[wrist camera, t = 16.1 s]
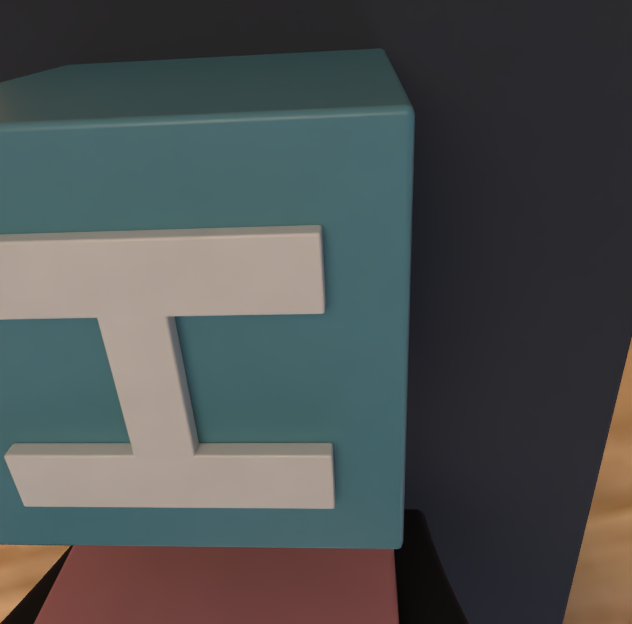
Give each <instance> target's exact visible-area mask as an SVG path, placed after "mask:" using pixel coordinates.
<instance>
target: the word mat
mask: <svg viewBox="0 0 632 624" xmlns="http://www.w3.org/2000/svg"><path fill="white" fill-rule="evenodd" d="M378 48H381V49H384V50H385V52H386V54H387V56H388V58H389V60H390V62H391V64H392V66H393V68H394V70H395V72H396V74H397V76H398V78H399V80H400V82H401V84H402V86H403V88H404V90H405V92H406V94H407V96H408V98H409V100H410V102H411V104H412V106H413V109H414V112H415V138H414V174H413V210H412V246H411V282H410V318H409V354H408V390H407V426H406V462H405V498H404V509H419V510H420V511H421V512H423V513H424V514H425V518H426V522H427V525H428V528H429V531H430V534H431V538H432V540H433V543H434V546H435V549H436V551H437V554H438V556H439V559H440V561H441V564H442V566H443V568H444V571H445V573H446V576H447V578H448V580H449V583H450V585H451V587H452V589H453V591H454V594H455V596H456V598H457V600H458V602H459V604H460V606H461V608H462V610H463V612H464V614H465V616H466V618H467V620H468V622H469V624H562V622H563V618H564V614H565V610H566V606H567V602H568V597H569V593H570V589H571V585H572V581H573V577H574V573H575V568H576V564H577V560H578V556H579V552H580V548H581V544H582V540H583V535H584V531H585V527H586V523H587V519H588V515H589V511H590V507H591V502H592V498H593V494H594V490H595V486H596V482H597V478H598V474H599V469H600V465H601V461H602V457H603V453H604V449H605V445H606V440H607V436H608V432H609V428H610V424H611V420H612V416H613V412H614V407H615V403H616V399H617V395H618V391H619V387H620V383H621V379H622V374H623V370H624V366H625V362H626V358H627V354H628V350H629V345H630V341H631V337H632V0H0V83H1V82H4V81H8V80H12V79H16V78H20V77H23V76H27V75H31V74H35V73H39V72H42V71H46V70H50V69H54V68H58V67H61V66H65V65H73V64H92V63H111V62H130V61H149V60H169V59H188V58H207V57H226V56H245V55H264V54H283V53H302V52H321V51H340V50H359V49H378Z"/></svg>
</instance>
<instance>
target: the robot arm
mask: <svg viewBox="0 0 632 624" xmlns="http://www.w3.org/2000/svg"><path fill="white" fill-rule="evenodd" d="M72 547H73V545H71V546H70V547H69V549H68V550H67V551H66V552H65V553H64V554H63V555H62V556H61V558H60V559H59V560H58V561H57V562H56V563H55V564H54V565H53V567H52V568H51V569H50V570H49V571H48V572H47V573H46V574H45V576H44V577H43V578H42V579H41V580H40V581H39V582H38V583H37V584H36V586H35V587H34V588H33V589H32V590H31V591H30V592H29V593H28V594H27V595H26V596H25V597H24V599H23V600H22V601H21V602H20V603H19V604H18V605H17V606H16V607H15V608H14V609H13V611H12V612H11V613H10V614H9V615H8V616H7V617H6V618H5V619H4V620H3V621H2V622H1V623H0V624H34V623H35V621H36V619H37V617H38V615H39V613H40V611H41V609H42V607H43V605H44V603H45V601H46V599H47V597H48V595H49V593H50V591H51V589H52V587H53V585H54V583H55V581H56V579H57V577H58V575H59V573H60V571H61V569H62V567H63V565H64V563H65V561H66V559H67V557H68V555H69V553H70V551H71V549H72ZM394 558H395V572H396V585H397V599H398V613H399V624H469V622H468V620H467V618H466V616H465V614H464V612H463V610H462V608H461V606H460V604H459V602H458V600H457V598H456V596H455V594H454V591H453V589H452V587H451V585H450V583H449V580H448V578H447V576H446V573H445V571H444V568H443V566H442V564H441V561H440V559H439V556H438V554H437V551H436V549H435V546H434V543H433V540H432V538H431V534H430V531H429V528H428V525H427V522H426V518H425V514H424V513H423V512H421V511H420V510H419V509H404V534H403V544H402V547H401V548H399V549H394Z"/></svg>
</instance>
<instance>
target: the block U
mask: <svg viewBox="0 0 632 624" xmlns="http://www.w3.org/2000/svg"><path fill="white" fill-rule="evenodd" d="M34 624H399V613H398V599H397V585H396V572H395V558H394V549H337V548H255V547H172V546H90V545H73V547H72V549H71V551H70V553H69V555H68V557H67V559H66V561H65V563H64V565H63V567H62V569H61V571H60V573H59V575H58V577H57V579H56V581H55V583H54V585H53V587H52V589H51V591H50V593H49V595H48V597H47V599H46V601H45V603H44V605H43V607H42V609H41V611H40V613H39V615H38V617H37V619H36V621H35V623H34Z"/></svg>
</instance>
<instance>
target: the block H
mask: <svg viewBox="0 0 632 624" xmlns="http://www.w3.org/2000/svg"><path fill="white" fill-rule="evenodd" d="M414 138H415V112H414V109H413V106H412V104H411V102H410V100H409V98H408V96H407V94H406V92H405V90H404V88H403V86H402V84H401V82H400V80H399V78H398V76H397V74H396V72H395V70H394V68H393V66H392V64H391V62H390V60H389V58H388V56H387V54H386V52H385V50H384V49H381V48H378V49H359V50H340V51H321V52H302V53H283V54H264V55H245V56H226V57H207V58H188V59H169V60H149V61H130V62H111V63H92V64H73V65H65V66H61V67H58V68H54V69H50V70H46V71H42V72H39V73H35V74H31V75H27V76H23V77H20V78H16V79H12V80H8V81H4V82H1V83H0V544H8V545H90V546H172V547H255V548H337V549H399V548H401V547H402V544H403V534H404V498H405V462H406V426H407V390H408V354H409V318H410V282H411V246H412V210H413V174H414Z"/></svg>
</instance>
